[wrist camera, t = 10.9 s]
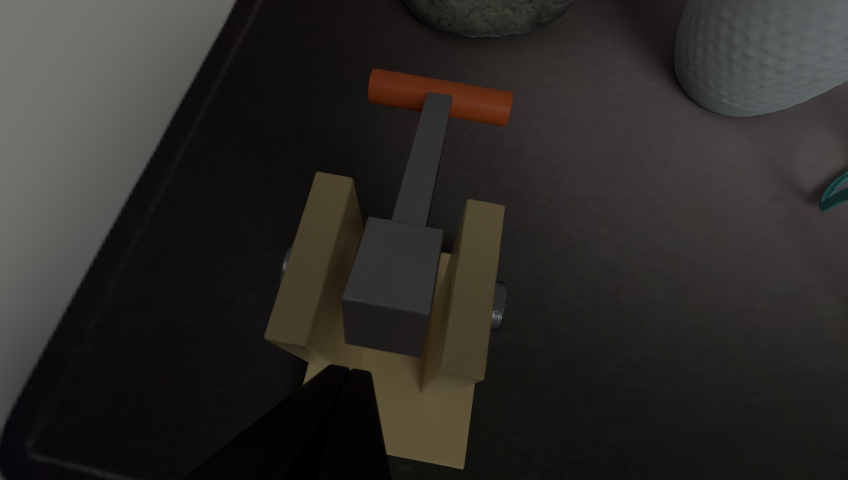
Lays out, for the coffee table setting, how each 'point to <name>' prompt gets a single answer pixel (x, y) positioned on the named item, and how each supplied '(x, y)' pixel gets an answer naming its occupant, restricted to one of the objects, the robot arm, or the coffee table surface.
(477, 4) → the stone
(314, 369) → the bracket
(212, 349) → the coffee table surface
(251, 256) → the coffee table surface
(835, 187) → the sunglasses
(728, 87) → the mug
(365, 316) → the lever
